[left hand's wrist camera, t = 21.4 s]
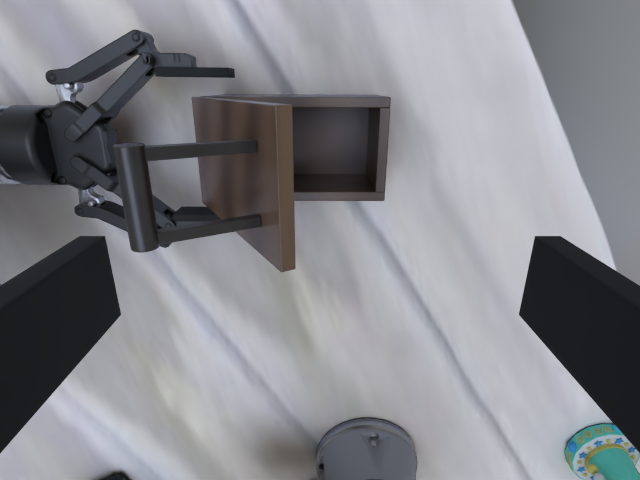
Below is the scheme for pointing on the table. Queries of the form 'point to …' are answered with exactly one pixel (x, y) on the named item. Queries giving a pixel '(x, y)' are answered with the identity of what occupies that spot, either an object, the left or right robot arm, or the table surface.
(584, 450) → the decorative hourglass
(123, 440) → the table surface
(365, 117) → the chest
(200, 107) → the lid
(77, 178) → the right robot arm
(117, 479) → the power drill
